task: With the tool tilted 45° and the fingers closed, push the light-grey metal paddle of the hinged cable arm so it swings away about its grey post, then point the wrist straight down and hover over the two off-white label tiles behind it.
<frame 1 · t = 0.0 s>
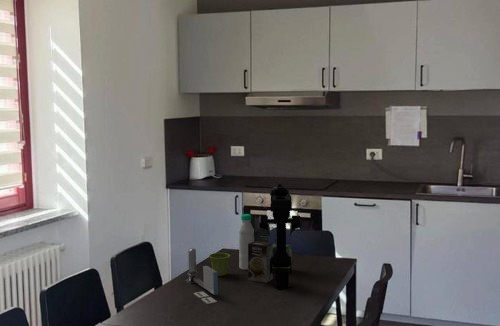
hand: (279, 234, 288), 15 cm above the table, tool tilted 35°, fingers open, 9 cm apart
plant pot: (219, 274, 277), on the table
psu label 1: (201, 295, 249), on the table
post: (192, 281, 267), on the table
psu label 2: (209, 300, 242), on the table
cable arm: (204, 276, 255), point 6 cm above the table, hinge at 0.0°
coffee box: (260, 280, 269), on the table
water bottle: (246, 268, 287), on the table
chalk box: (279, 271, 282), on the table
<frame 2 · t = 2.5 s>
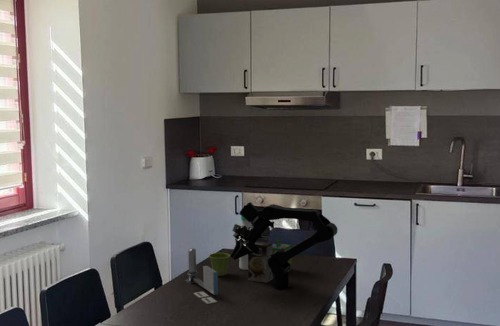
hand: (232, 258, 256), 13 cm above the table, tool tilted 45°, fingers open, 3 cm apart
nothing on the table moved.
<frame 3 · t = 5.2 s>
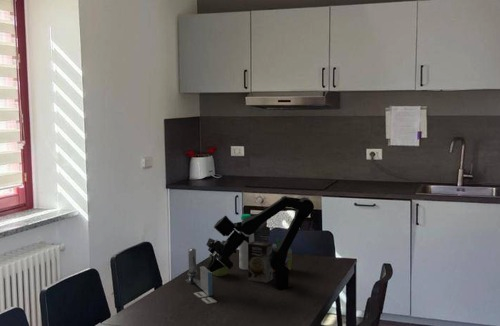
hand: (206, 273, 252), 8 cm above the table, tool tilted 45°, fingers closed, pressing on cable arm
cable arm: (201, 277, 254), point 6 cm above the table, hinge at 5.3°, touching gripper
everything else where it was.
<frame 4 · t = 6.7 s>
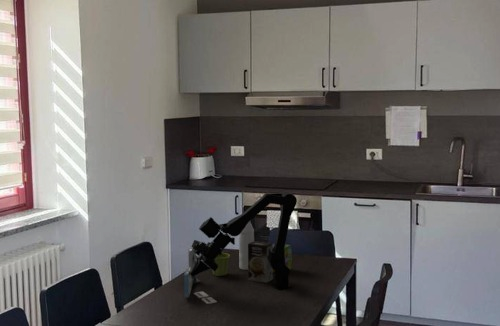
hand: (191, 275, 250), 8 cm above the table, tool tilted 45°, fingers closed
cable arm: (189, 278, 253), point 6 cm above the table, hinge at 27.2°, touching gripper
everything else where it was.
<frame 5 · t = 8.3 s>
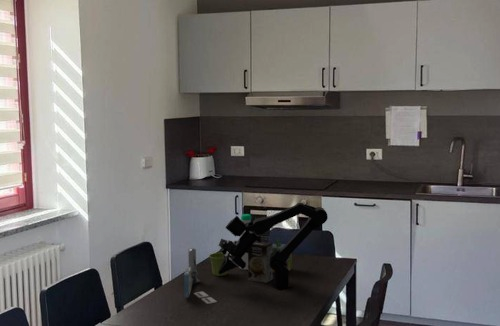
hand: (219, 273, 254), 7 cm above the table, tool tilted 45°, fingers closed
cable arm: (189, 278, 253), point 6 cm above the table, hinge at 27.2°
everything else where it was.
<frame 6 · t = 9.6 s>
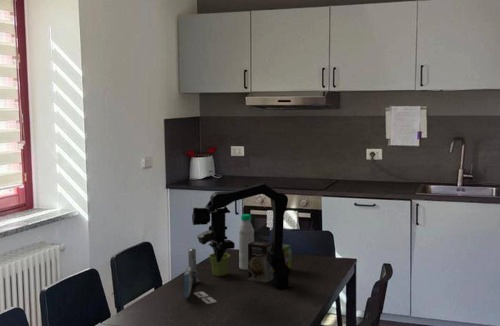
hand: (218, 262, 251), 12 cm above the table, tool pointing down, fingers closed
nothing on the table moved.
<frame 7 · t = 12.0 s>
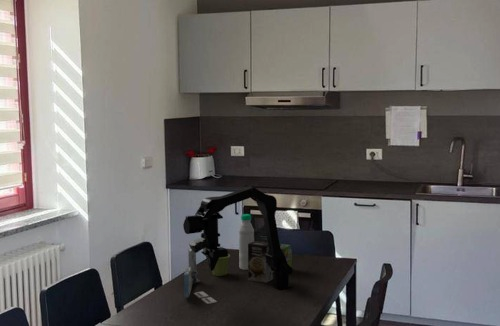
hand: (211, 270, 241), 12 cm above the table, tool pointing down, fingers closed
nothing on the table moved.
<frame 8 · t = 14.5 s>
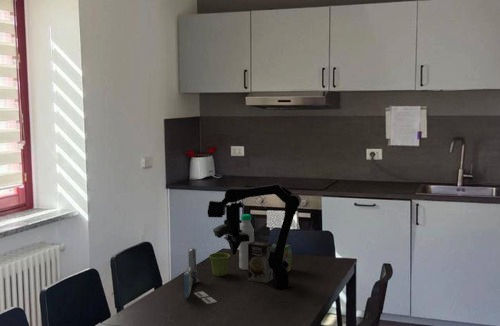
hand: (233, 254, 261), 13 cm above the table, tool pointing down, fingers closed
nothing on the table moved.
at the end: cable arm at +27° (first picture: +0°) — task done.
